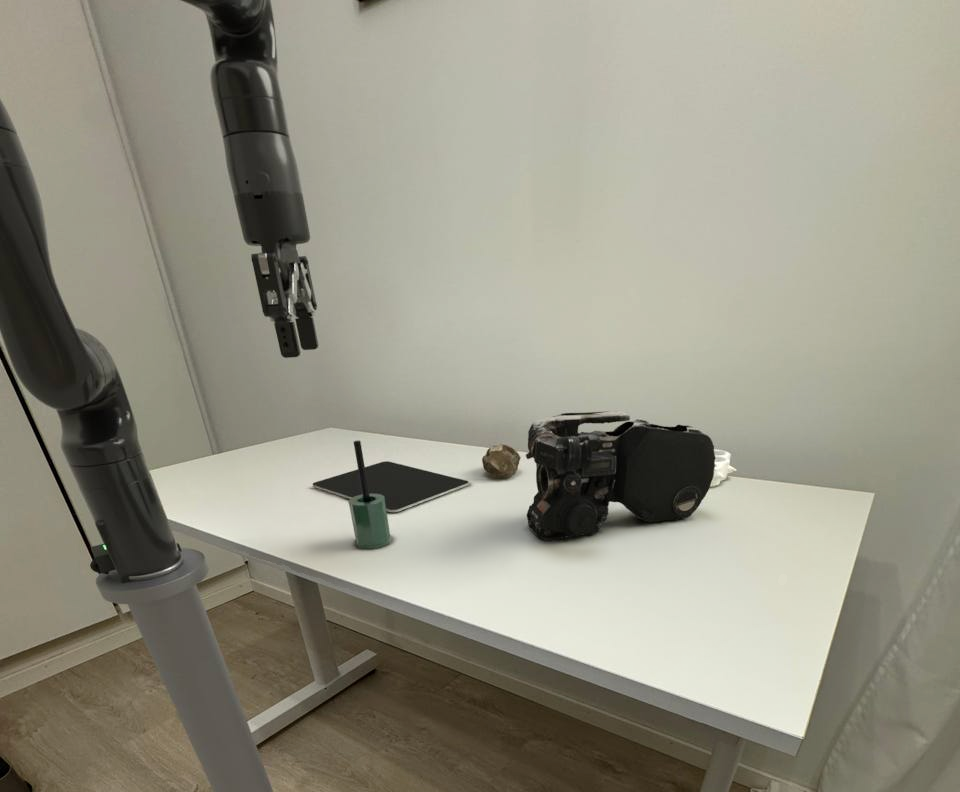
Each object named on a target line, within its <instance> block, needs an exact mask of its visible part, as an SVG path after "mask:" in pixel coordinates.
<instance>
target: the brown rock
mask: <svg viewBox="0 0 960 792" xmlns="http://www.w3.org/2000/svg"><path fill="white" fill-rule="evenodd" d="M520 461H521V455H520V453H519V452H518V451H517V450H516V449H515V448H513V447H512V446H509V445H506V444H503V443H496V444H494V445H492V446H490V447H489V448H488V449H487V450H486V453H485V455H483V456H482V458H481V462H482V463H481V464H482V467H483V470H484V471H485V472H486V473H487V474H488V475H490V476H492V477H496V478H509V477H512V476H514V475H515V474H516V472H517V471H518V468H519V465H520Z"/></svg>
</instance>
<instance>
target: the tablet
mask: <svg viewBox="0 0 960 792" xmlns="http://www.w3.org/2000/svg"><path fill="white" fill-rule="evenodd" d="M365 472H366V478H367V484H368V490H369V494H381V495H383V496H384V498H385V505H386V511H387V513H398V512H401V511H403V510H406V509H409V508H411V507H414V506H417V505H420V504H422V503H424V502H427V501H430V500H433V499H435V498H438V497H440V496H444V495H446V494H448V493H452V492H454V491H457V490H459V489H463V488H464V487H467V486H469V481H468V480H465V479H462V478H458V477H454V476H450V475H445V474H441V473H438V472H432V471H430V470H429V471H428V470H425V469H422V468H417V467H414V466H409V465H404V464H400V463H397V462H393V461H387V460H386V461H381V462H377V463H374V464H370V465H368V466H365ZM312 487H313V488H316V489H319V490H322V491H324V492H328V493H331V494H334V495H337V496H339V497H343V498H346V499H349V500H350V499H351V498H353V497H355V496H358V495H362V489H361V483H360V477H359V471H358V468H357V469H355V470H350V471H348V472H344V473H341V474H338V475H335V476H331V477H328V478H325V479H321V480H318V481H315V482H314V481H313V483H312Z"/></svg>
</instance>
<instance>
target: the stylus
mask: <svg viewBox="0 0 960 792" xmlns="http://www.w3.org/2000/svg"><path fill="white" fill-rule="evenodd" d="M353 446H354V447H353V448H354V453H355V460H356V465H357V469H358V471H359V477H360V483H361V489H362V495H363V500H364V503H366V502H370V496H369V490H368V484H367V478H366V472H365V467H366V466H365V461H364V453H363V448H362V442H361V440H354V441H353Z"/></svg>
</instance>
